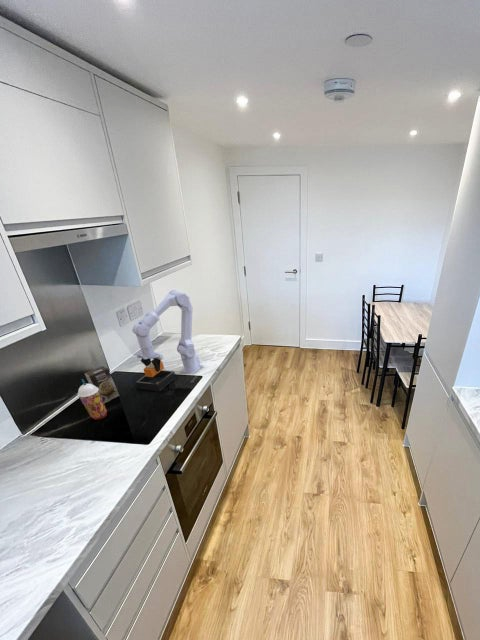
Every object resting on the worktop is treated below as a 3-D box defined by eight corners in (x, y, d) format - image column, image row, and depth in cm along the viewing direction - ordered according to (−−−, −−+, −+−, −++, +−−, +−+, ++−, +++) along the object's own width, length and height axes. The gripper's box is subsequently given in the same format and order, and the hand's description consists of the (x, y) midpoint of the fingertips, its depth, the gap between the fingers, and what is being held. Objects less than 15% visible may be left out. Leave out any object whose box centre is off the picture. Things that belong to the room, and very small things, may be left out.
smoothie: (86, 420, 150) (66, 382, 139) (100, 410, 156) (83, 373, 145) (99, 423, 147) (80, 385, 136) (113, 412, 154) (97, 375, 143)
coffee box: (102, 404, 160) (89, 376, 151) (96, 401, 164) (83, 372, 155) (120, 396, 166) (108, 368, 157) (114, 392, 170) (102, 365, 161)
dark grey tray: (155, 376, 183) (153, 369, 181) (176, 378, 179) (174, 371, 177) (138, 389, 171) (135, 382, 169) (160, 391, 168) (157, 384, 165)
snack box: (157, 367, 176) (155, 360, 174) (164, 368, 175) (162, 360, 172) (145, 376, 168) (143, 368, 166) (152, 377, 167) (149, 369, 164)
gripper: (129, 349, 162) (138, 373, 170) (153, 351, 158) (161, 375, 166) (138, 343, 168) (147, 366, 175) (162, 345, 164) (169, 369, 171)
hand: (154, 370), depth 171 cm, fingers closed on snack box, 4 cm apart
